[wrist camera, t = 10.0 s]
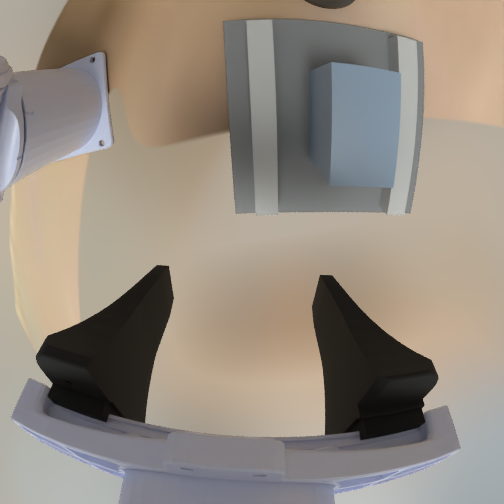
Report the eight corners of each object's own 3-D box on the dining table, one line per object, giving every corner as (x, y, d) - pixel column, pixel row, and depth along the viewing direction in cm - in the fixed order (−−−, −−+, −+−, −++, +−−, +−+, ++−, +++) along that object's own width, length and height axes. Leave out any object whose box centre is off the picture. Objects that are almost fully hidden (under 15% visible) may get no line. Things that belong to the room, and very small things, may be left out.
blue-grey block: (309, 157, 18) (329, 185, 13) (308, 71, 14) (331, 62, 9) (357, 159, 18) (393, 188, 12) (359, 76, 14) (400, 73, 9)
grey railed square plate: (236, 208, 21) (233, 222, 19) (225, 24, 14) (220, 15, 11) (405, 208, 20) (418, 221, 18) (416, 43, 13) (433, 40, 11)
